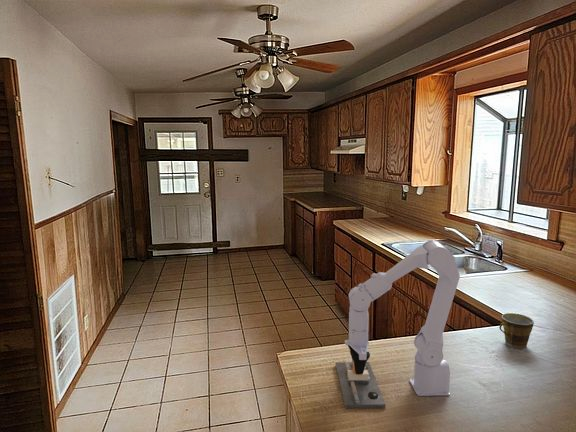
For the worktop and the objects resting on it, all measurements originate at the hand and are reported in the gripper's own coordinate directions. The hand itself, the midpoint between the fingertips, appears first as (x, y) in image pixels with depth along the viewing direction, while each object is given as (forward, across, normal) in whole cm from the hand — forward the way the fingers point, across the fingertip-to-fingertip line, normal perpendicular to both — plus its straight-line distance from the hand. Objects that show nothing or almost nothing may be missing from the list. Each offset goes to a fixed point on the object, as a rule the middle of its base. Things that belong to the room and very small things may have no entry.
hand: (358, 369), depth 117 cm
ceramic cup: (+5, -23, +60) cm, 64 cm away
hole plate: (+5, 0, 0) cm, 5 cm away
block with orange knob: (+3, 0, 0) cm, 3 cm away
